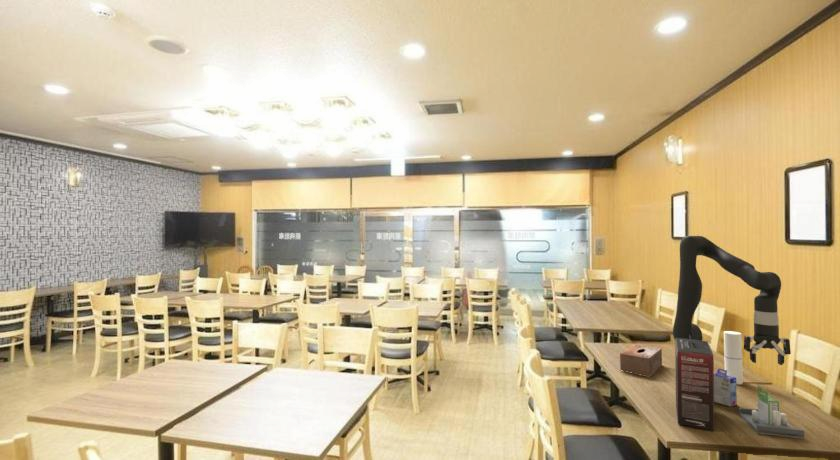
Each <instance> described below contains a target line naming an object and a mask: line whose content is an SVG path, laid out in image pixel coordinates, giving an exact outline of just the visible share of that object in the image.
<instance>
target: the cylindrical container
mask: <svg viewBox="0 0 840 460" xmlns="http://www.w3.org/2000/svg"><path fill="white" fill-rule="evenodd" d="M742 342H743V341H742V333H741V332H739V331H733V330H725V331H723V351H724V352H723V354H724V355H723V356H724V358H723V359H724V370H727V374H726V375H728V376H732V377H736V385H743V384H744V383H743V382H744V379H743V376H744V375H743V347H742V345H743V344H742Z"/></svg>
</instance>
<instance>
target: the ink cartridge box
mask: <svg viewBox="0 0 840 460" xmlns="http://www.w3.org/2000/svg"><path fill="white" fill-rule="evenodd" d="M726 374H727V370H725V369H722V368H717V371H716V372H715V371H714V403H718V404H721V405H723V406H727V407H730V408H731V407H733V406H737V405H738V402H737V399H738V397H737V396H738V395H737V394H738V392H737V384H736V377H732V376H728V375H726Z"/></svg>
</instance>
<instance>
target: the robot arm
mask: <svg viewBox="0 0 840 460" xmlns="http://www.w3.org/2000/svg"><path fill="white" fill-rule="evenodd" d="M697 256H702V257H703V256H704V257H706V258H709V259H711V260H713V261H715V262H716V263H717V264H718V265H719V266H720V267H721V268H722V269H723V270H725V271H726V272H728V273H730V274H731V275H733V276H735V277H737V278H740V279H741V281H743V282H744V283H745V284H747V286H749V287H751V288H752V289H754V290H757V291H760V292H759V294H758V295H756V296H755V297H754V299H753V306H754V308H753V309H754V310H753V319H752V320H753V336H751V335H750V336H749V335H746V334H745V335H744V336H743V350H745V351H746V352H748V353H749V359H750V361H751V362H752V363H753V364H756V363H757V353H756V352H758V351H759V350H760V349H769V350H775V351H776V353H777V364H778V365H779V366H783V364H785V356H786V355H791V354H792V352H791V351H792V350H791V343H790V339H789V338H787V337H782V338H781V337H780V326H779V324H780V323H779V322H780V319H779V315H778V299H779V297H780V293H781V289H782V281H781V278H780V276H779V274H777V273H776V272H772V271H765V272H764V271H762V272H761V271H758V270H756V269H755V265H753V264H752V263H749V262H748V261H746V260H743V259H742V258H739V257H738V256H735V255H733V254H731V253H730V252H728V251H726V250H724V249H723V248H721V247H720V246H718V245H717V244H716V243H714V242H713V241H711V240H710V239H708V238H707V237H705V236H703V235H686V236H684V237H683V238H682V239H681V240H680V243H679V276H678V277H679V279H678V288H677V301H676V312H675V317H674V318H675V319H674V323H673V328H672V335H673V336H672V337H673V339H674V340H675V341H676V338H682V339H690V337H691V339H694V340H702V341H703V332H702V330H701V328H700V326H699V325H697V324H695V323H693V318H694V314H695V312H696V310H697V308H698V306H699V304H700V302H701V299H702V295H703V293H702V292H703V282H702V278H701V276H700V274H699V273H698V270H697ZM689 335H690V336H689ZM753 341H754V343H753V345H752V346H751V342H753ZM780 343H781V344H782V346H783V347H782V348H783V350H782V348H781V347H780V346H779V344H780Z"/></svg>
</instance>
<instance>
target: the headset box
mask: <svg viewBox="0 0 840 460" xmlns="http://www.w3.org/2000/svg"><path fill="white" fill-rule="evenodd" d="M689 336H690V335H689ZM674 349H675V350H674V351H675V353H674V354H675V356H674V357H675V407H676V408H675V409H676V417H677V424H678V425H683V426H687V427H693V428H697V429H703V430H707V431H711V432H714V431H715V430H714V429H715V428H714V427H715V426H714V425H715V422H714V421H715V418H714V417H715V416H714V414H715V409H714V408H715V406H714V405H715V404H714V403H715V402H714V372H715V371H714V369H715V368H714V365H715V364H714V363H715V362H714V353H713V351H712V348H711V345H709V342H708V341H706V340H703V339H702V340H694V339H691V337H690V339H682V338H676V340H675V347H674Z"/></svg>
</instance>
